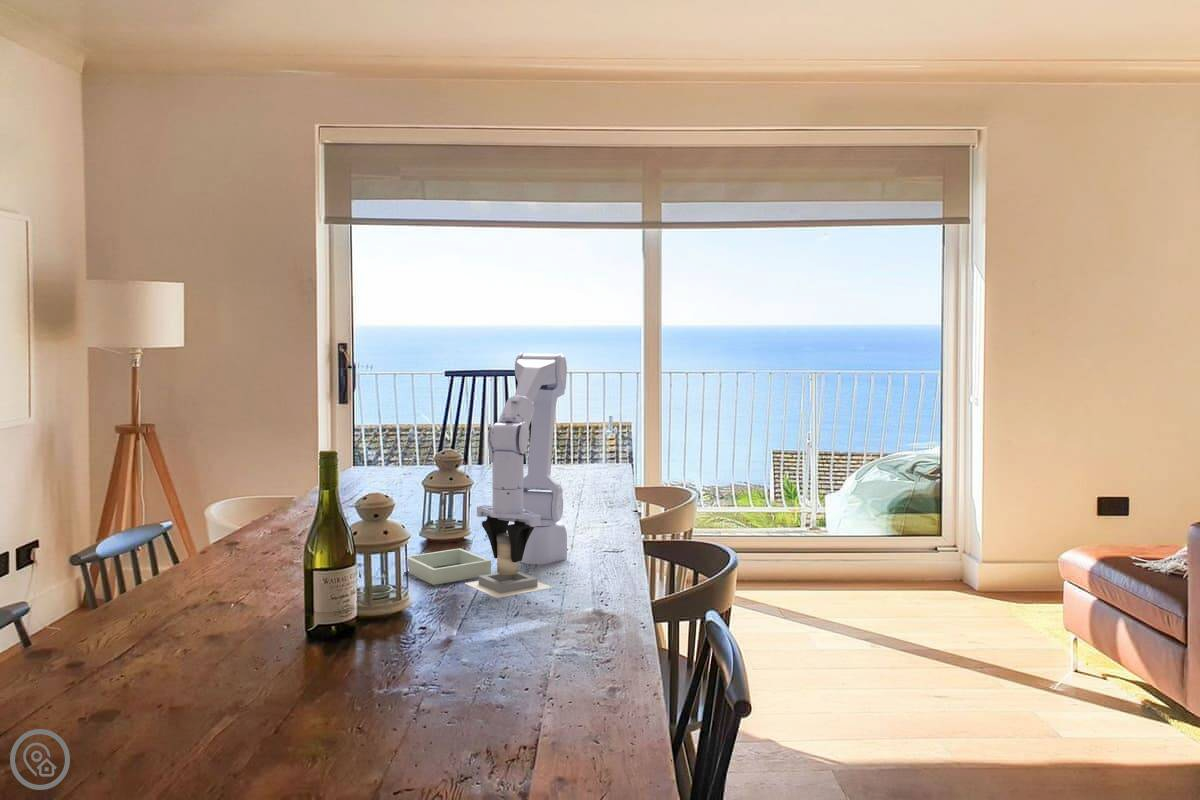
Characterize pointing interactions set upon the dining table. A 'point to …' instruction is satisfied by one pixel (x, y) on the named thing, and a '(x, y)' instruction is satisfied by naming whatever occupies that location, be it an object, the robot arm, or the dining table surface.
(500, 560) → the strut
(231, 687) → the dining table surface
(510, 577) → the square socket plate
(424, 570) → the bin
